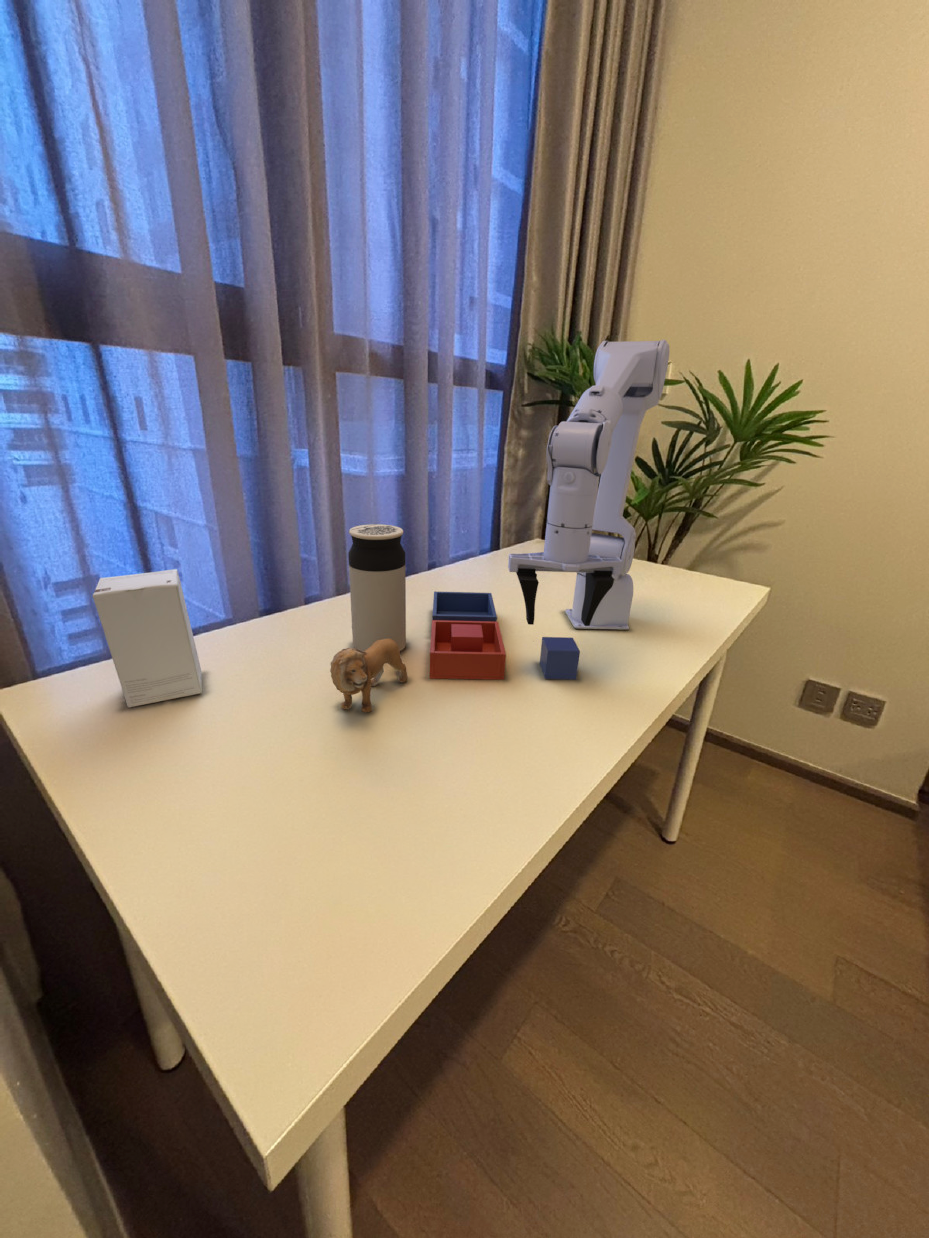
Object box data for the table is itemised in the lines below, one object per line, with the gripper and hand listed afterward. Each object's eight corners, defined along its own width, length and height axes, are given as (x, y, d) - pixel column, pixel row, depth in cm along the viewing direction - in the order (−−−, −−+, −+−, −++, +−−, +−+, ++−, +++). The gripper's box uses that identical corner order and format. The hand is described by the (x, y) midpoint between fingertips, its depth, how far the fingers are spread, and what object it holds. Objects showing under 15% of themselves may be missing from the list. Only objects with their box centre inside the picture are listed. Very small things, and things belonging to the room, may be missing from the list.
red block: (479, 651, 76) (481, 624, 74) (481, 665, 72) (483, 637, 70) (450, 650, 76) (451, 623, 74) (450, 664, 72) (451, 636, 70)
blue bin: (490, 612, 91) (491, 592, 90) (495, 639, 81) (497, 616, 79) (433, 611, 91) (434, 591, 89) (432, 638, 81) (432, 615, 79)
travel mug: (416, 647, 77) (417, 531, 70) (375, 663, 72) (370, 539, 65) (383, 631, 82) (381, 521, 75) (342, 645, 77) (335, 528, 70)
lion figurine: (363, 733, 57) (360, 662, 53) (322, 723, 58) (316, 653, 55) (414, 673, 70) (414, 613, 66) (379, 666, 71) (377, 607, 67)
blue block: (569, 664, 74) (572, 637, 72) (576, 679, 70) (580, 651, 68) (539, 664, 74) (542, 636, 72) (544, 679, 70) (548, 650, 68)
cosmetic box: (202, 674, 67) (182, 567, 61) (202, 696, 62) (180, 582, 56) (128, 686, 64) (99, 574, 58) (122, 710, 59) (90, 590, 53)
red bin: (496, 644, 79) (498, 621, 78) (504, 679, 69) (506, 654, 67) (431, 642, 79) (432, 619, 77) (429, 678, 69) (429, 652, 67)
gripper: (516, 528, 60) (508, 633, 65) (636, 532, 60) (618, 635, 66) (509, 516, 66) (502, 612, 71) (618, 520, 67) (603, 615, 72)
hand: (557, 622), depth 69 cm, fingers open, 7 cm apart
